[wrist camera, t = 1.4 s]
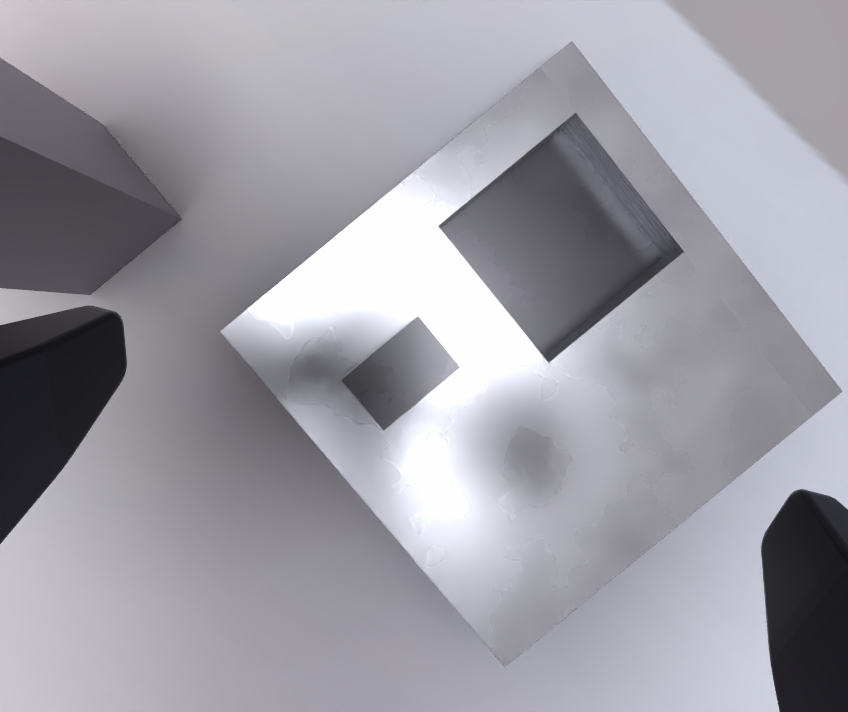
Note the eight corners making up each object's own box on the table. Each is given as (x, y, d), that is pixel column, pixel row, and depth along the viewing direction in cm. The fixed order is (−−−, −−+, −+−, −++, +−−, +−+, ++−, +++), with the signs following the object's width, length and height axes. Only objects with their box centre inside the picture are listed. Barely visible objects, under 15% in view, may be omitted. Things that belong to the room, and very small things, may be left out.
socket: (495, 636, 23) (508, 680, 20) (236, 330, 22) (212, 331, 19) (803, 385, 23) (859, 394, 20) (556, 66, 22) (579, 29, 19)
